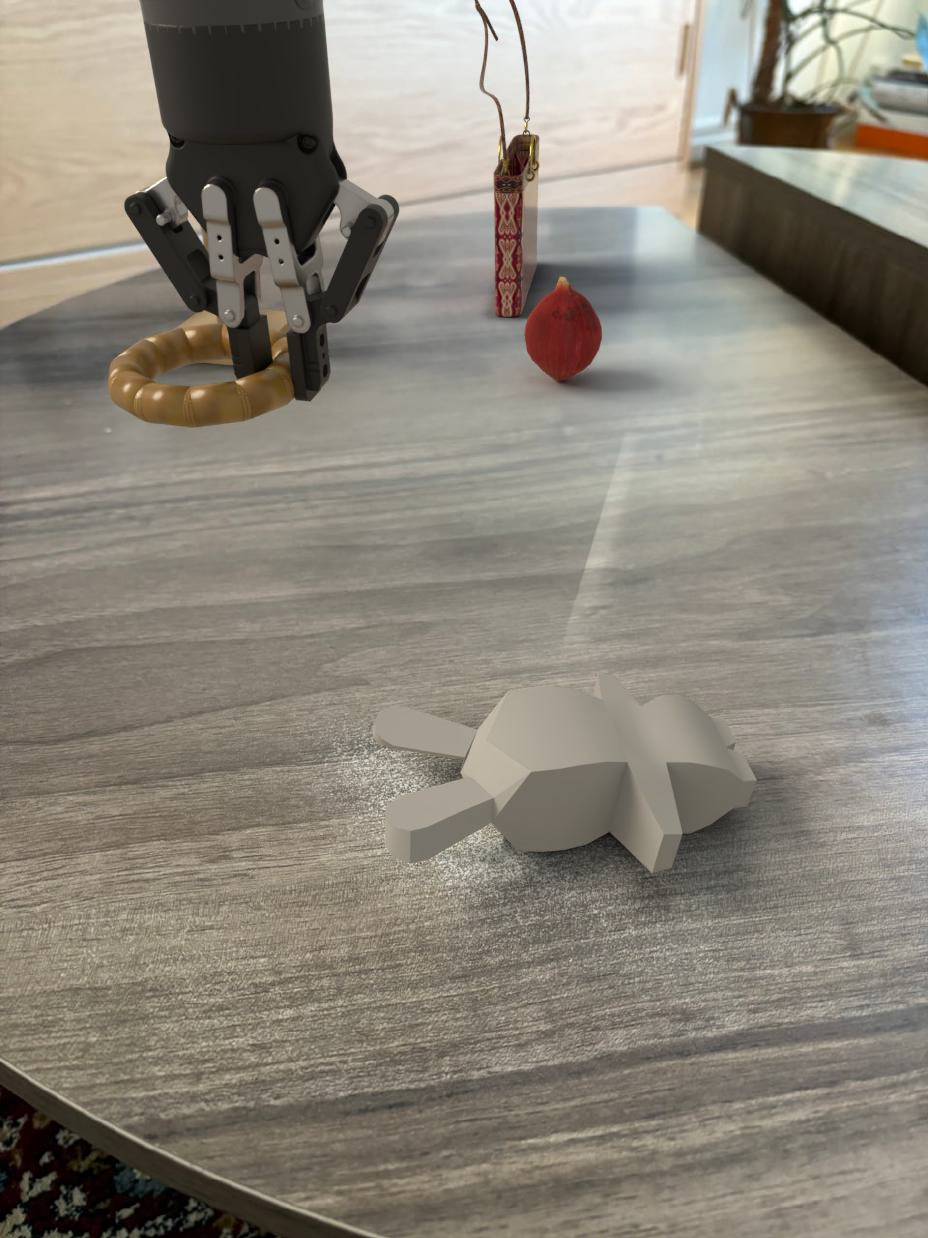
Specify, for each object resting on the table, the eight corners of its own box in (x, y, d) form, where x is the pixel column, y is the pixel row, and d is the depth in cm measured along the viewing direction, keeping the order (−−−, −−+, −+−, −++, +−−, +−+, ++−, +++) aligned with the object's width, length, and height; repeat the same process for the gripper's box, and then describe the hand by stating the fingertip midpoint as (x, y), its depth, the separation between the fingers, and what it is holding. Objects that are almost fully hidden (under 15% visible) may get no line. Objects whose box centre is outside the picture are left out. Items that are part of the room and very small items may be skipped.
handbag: (547, 250, 105) (554, -33, 90) (525, 321, 88) (530, -11, 73) (479, 249, 106) (475, -32, 91) (445, 319, 89) (433, -10, 74)
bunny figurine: (797, 803, 37) (393, 823, 34) (760, 893, 40) (385, 917, 37) (709, 647, 44) (372, 653, 42) (683, 732, 47) (367, 743, 45)
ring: (74, 421, 50) (63, 384, 49) (172, 345, 58) (166, 312, 57) (263, 442, 48) (258, 404, 47) (339, 360, 56) (336, 325, 55)
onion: (613, 378, 78) (620, 275, 73) (568, 403, 74) (573, 296, 70) (554, 360, 81) (557, 260, 76) (509, 383, 78) (509, 280, 73)
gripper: (417, -2, 43) (431, 376, 54) (132, -5, 46) (198, 354, 56) (358, 18, 37) (387, 438, 48) (37, 14, 40) (130, 410, 51)
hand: (284, 391), depth 52 cm, fingers closed on ring, 2 cm apart
